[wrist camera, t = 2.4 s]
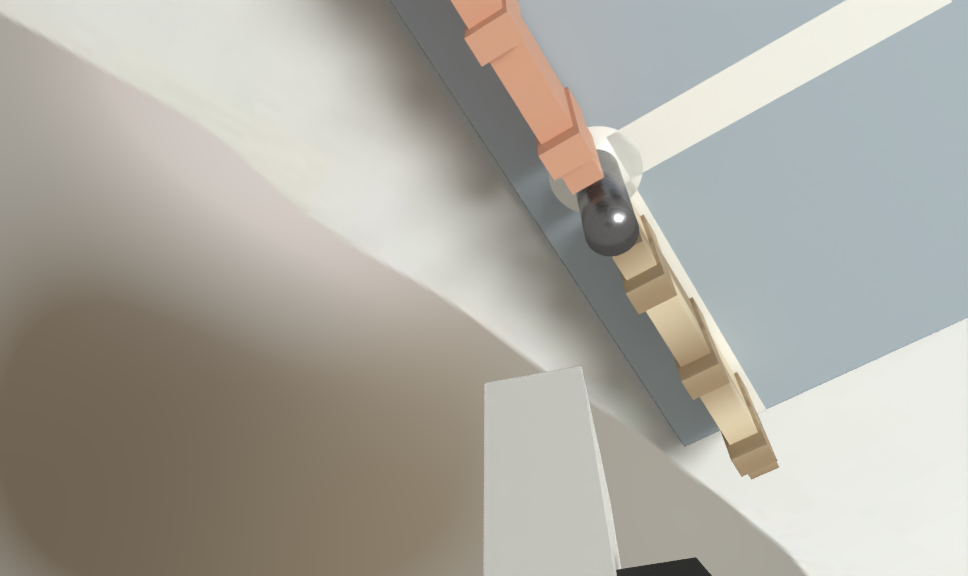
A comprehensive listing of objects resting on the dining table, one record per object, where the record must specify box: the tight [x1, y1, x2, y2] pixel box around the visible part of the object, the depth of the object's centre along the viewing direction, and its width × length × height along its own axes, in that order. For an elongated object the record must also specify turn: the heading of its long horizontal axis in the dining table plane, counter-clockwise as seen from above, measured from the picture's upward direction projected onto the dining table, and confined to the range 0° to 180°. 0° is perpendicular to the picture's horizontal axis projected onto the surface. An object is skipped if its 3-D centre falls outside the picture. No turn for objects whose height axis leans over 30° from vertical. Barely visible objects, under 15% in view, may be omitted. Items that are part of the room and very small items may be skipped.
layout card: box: [390, 0, 968, 446], centre depth 33 cm, size 28×17×1 cm, turn 32°
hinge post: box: [576, 149, 639, 256], centre depth 32 cm, size 2×2×6 cm
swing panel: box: [451, 0, 604, 194], centre depth 29 cm, size 12×2×5 cm, turn 32°
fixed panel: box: [612, 200, 779, 479], centre depth 35 cm, size 12×2×5 cm, turn 32°
